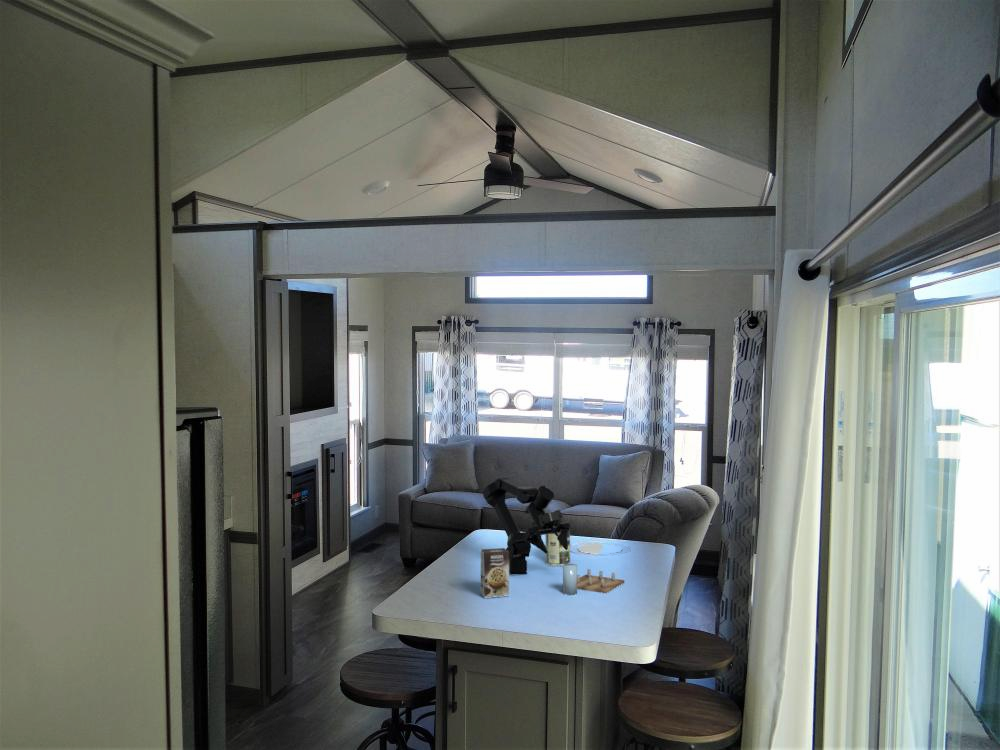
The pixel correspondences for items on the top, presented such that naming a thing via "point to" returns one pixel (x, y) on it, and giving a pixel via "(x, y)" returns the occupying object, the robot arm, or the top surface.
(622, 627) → the top surface
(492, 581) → the brown food box
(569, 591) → the grey dome-topped cylinder
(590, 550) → the plate
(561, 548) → the coffee can
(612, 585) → the dish rack
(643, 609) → the top surface
